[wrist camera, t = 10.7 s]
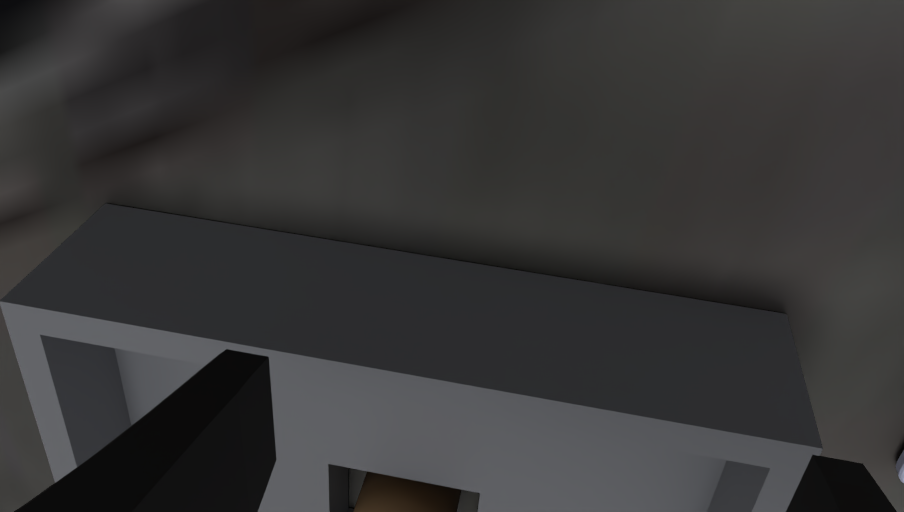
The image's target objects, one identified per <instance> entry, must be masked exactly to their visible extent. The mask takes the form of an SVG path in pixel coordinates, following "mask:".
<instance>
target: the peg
mask: <svg viewBox="0 0 904 512" xmlns="http://www.w3.org/2000/svg"><path fill="white" fill-rule="evenodd" d="M460 493H461V489H456V488H451V487H445V486H440V485H435V484H430V483H425V482H420V481H414V480H409V479H404V478H399V477H394V476H389V475H383V474H378V473H373V472H368V471H367V474H366V477H365V480H364V482H363V485H362V488H361V491H360V494H359V497H358V500H357V503H356V506H355V508H354V511H353V512H457V507H458V503H459V498H460Z"/></svg>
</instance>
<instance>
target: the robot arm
mask: <svg viewBox="0 0 904 512" xmlns="http://www.w3.org/2000/svg"><path fill="white" fill-rule="evenodd" d="M276 460H277V459H276V446H275V433H274V420H273V406H272V393H271V380H270V366H269V357H267V356H262V355H256V354H251V353H245V352H240V351H234V350H229V349H226V350H225V351H223V352H222V353H220V354H219V355H218V356H216V357H215V358H214V359H213V360H211V361H210V362H209V363H208V364H207V365H205V366H204V367H203V368H202V369H200V370H199V371H198V372H197V373H196V374H194V375H193V376H192V377H191V378H190V379H188V380H187V381H186V382H185V383H184V384H182V385H181V386H180V387H179V388H178V389H176V390H175V391H174V392H173V393H171V394H170V395H169V396H168V397H167V398H165V399H164V400H163V401H162V402H160V403H159V404H158V405H157V406H155V407H154V408H153V409H152V410H151V411H149V412H148V413H147V414H146V415H144V416H143V417H142V418H141V419H139V420H138V421H137V422H136V423H134V424H133V425H132V426H130V427H129V428H128V429H127V430H125V431H124V432H123V433H121V434H120V435H119V436H118V437H116V438H115V439H114V440H112V441H111V442H110V443H109V444H107V445H106V446H105V447H103V448H102V449H101V450H100V451H98V452H97V453H96V454H94V455H93V456H92V457H90V458H89V459H88V460H86V461H85V462H84V463H82V464H81V465H79V466H78V467H77V468H75V469H74V470H72V471H71V472H70V473H68V474H67V475H65V476H64V477H63V478H61V479H60V480H58V481H57V482H56V483H54V484H53V485H51V486H50V487H49V488H47V489H46V490H44V491H43V492H42V493H40V494H39V495H37V496H36V497H35V498H33V499H32V500H30V501H29V502H28V503H26V504H25V505H23V506H22V507H20V508H19V509H17V510H16V511H14V512H258V509H259V507H260V504H261V502H262V499H263V496H264V493H265V491H266V488H267V485H268V482H269V479H270V477H271V474H272V471H273V468H274V465H275V463H276ZM896 470H897V473H898V476H899V478H900V481H901V482H903V483H904V450H903V452H902V454H901V455H900V457H899V459H898V461H897V463H896ZM786 512H897V511H896V510H895V509H894V507H893V506H892V504H891V503H890V502H889V500H888V499H887V497H886V496H885V494H884V493H883V492H882V490H881V489H880V487H879V486H878V484H877V483H876V482H875V480H874V479H873V477H872V476H871V475H870V473H869V472H868V470H867V469H866V468H865V466H864V465H863V464H861V463H856V462H850V461H845V460H839V459H834V458H828V457H822V456H817V455H812V457H811V459H810V461H809V463H808V466H807V468H806V470H805V472H804V474H803V476H802V478H801V481H800V483H799V485H798V487H797V489H796V491H795V493H794V495H793V498H792V500H791V502H790V504H789V506H788V508H787V510H786Z"/></svg>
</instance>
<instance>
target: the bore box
mask: <svg viewBox="0 0 904 512" xmlns="http://www.w3.org/2000/svg"><path fill="white" fill-rule="evenodd" d="M0 305H1V308H2V312H3V315H4V318H5V321H6V325H7V328H8V331H9V334H10V338H11V341H12V344H13V347H14V351H15V354H16V357H17V360H18V364H19V367H20V370H21V373H22V377H23V380H24V383H25V386H26V390H27V393H28V396H29V399H30V403H31V406H32V409H33V412H34V416H35V419H36V422H37V425H38V428H39V432H40V435H41V438H42V441H43V445H44V448H45V451H46V454H47V458H48V461H49V464H50V467H51V471H52V474H53V477H54V480H55V483H56V482H57V481H58V480H60V479H61V478H63V477H64V476H65V475H67V474H68V473H70V472H71V471H72V470H74V469H75V468H77V467H78V466H79V465H81V464H82V463H84V462H85V461H86V460H88V459H89V458H90V457H92V456H93V455H94V454H96V453H97V452H98V451H100V450H101V449H102V448H103V447H105V446H106V445H107V444H109V443H110V442H111V441H112V440H114V439H115V438H116V437H118V436H119V435H120V434H121V433H123V432H124V431H125V430H127V429H128V428H129V427H130V426H132V425H133V424H134V423H136V422H137V421H138V420H139V419H141V418H142V417H143V416H144V415H146V414H147V413H148V412H149V411H151V410H152V409H153V408H154V407H155V406H157V405H158V404H159V403H160V402H162V401H163V400H164V399H165V398H167V397H168V396H169V395H170V394H171V393H173V392H174V391H175V390H176V389H178V388H179V387H180V386H181V385H182V384H184V383H185V382H186V381H187V380H188V379H190V378H191V377H192V376H193V375H194V374H196V373H197V372H198V371H199V370H200V369H202V368H203V367H204V366H205V365H207V364H208V363H209V362H210V361H211V360H213V359H214V358H215V357H216V356H218V355H219V354H220V353H222V352H223V351H225V350H226V349H229V350H234V351H240V352H245V353H251V354H256V355H262V356H267V357H269V366H270V380H271V393H272V406H273V420H274V433H275V446H276V459H277V460H276V463H275V465H274V468H273V471H272V474H271V477H270V479H269V482H268V485H267V488H266V491H265V493H264V496H263V499H262V502H261V504H260V507H259V509H258V512H353V511H354V509H352V508H348V468H352V469H358V470H363V471H368V472H373V473H378V474H383V475H389V476H394V477H399V478H404V479H409V480H414V481H420V482H425V483H430V484H435V485H440V486H445V487H451V488H456V489H461V490H466V491H471V492H476V493H480V498H479V505H478V512H786V510H787V508H788V506H789V504H790V502H791V500H792V498H793V495H794V493H795V491H796V489H797V487H798V485H799V483H800V481H801V478H802V476H803V474H804V472H805V470H806V468H807V466H808V463H809V461H810V459H811V457H812V455H817V456H820V454H821V452H822V450H823V447H822V444H821V440H820V436H819V432H818V429H817V425H816V421H815V417H814V414H813V410H812V406H811V403H810V399H809V395H808V391H807V388H806V384H805V380H804V376H803V373H802V369H801V365H800V361H799V358H798V354H797V350H796V346H795V343H794V339H793V335H792V332H791V328H790V324H789V320H788V317H787V314H784V313H778V312H772V311H765V310H759V309H753V308H747V307H741V306H735V305H728V304H722V303H716V302H710V301H704V300H698V299H691V298H685V297H679V296H673V295H667V294H661V293H655V292H648V291H642V290H636V289H630V288H624V287H618V286H611V285H605V284H599V283H593V282H587V281H581V280H574V279H568V278H562V277H556V276H550V275H544V274H537V273H531V272H525V271H519V270H513V269H507V268H500V267H494V266H488V265H482V264H476V263H470V262H463V261H457V260H451V259H445V258H439V257H433V256H426V255H420V254H414V253H408V252H402V251H396V250H389V249H383V248H377V247H371V246H365V245H359V244H352V243H346V242H340V241H334V240H328V239H322V238H315V237H309V236H303V235H297V234H291V233H285V232H278V231H272V230H266V229H260V228H254V227H248V226H242V225H235V224H229V223H223V222H217V221H211V220H205V219H198V218H192V217H186V216H180V215H174V214H168V213H161V212H155V211H149V210H143V209H137V208H131V207H124V206H118V205H112V204H106V203H105V204H104V205H103V206H102V207H101V208H100V209H99V210H98V211H97V212H96V213H94V214H93V215H92V216H91V217H90V218H89V219H88V220H87V221H86V222H85V223H84V224H82V225H81V226H80V227H79V228H78V229H77V230H76V231H75V232H74V233H73V234H72V235H71V236H69V237H68V238H67V239H66V240H65V241H64V242H63V243H62V244H61V245H60V246H59V247H58V248H56V249H55V250H54V251H53V252H52V253H51V254H50V255H49V256H48V257H47V258H46V259H45V260H43V261H42V262H41V263H40V264H39V265H38V266H37V267H36V268H35V269H34V270H33V271H32V272H30V273H29V274H28V275H27V276H26V277H25V278H24V279H23V280H22V281H21V282H20V283H18V284H17V285H16V286H15V287H14V288H13V289H12V290H11V291H10V292H9V293H8V294H7V295H5V296H4V297H3V298H2V299H1V300H0Z"/></svg>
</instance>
